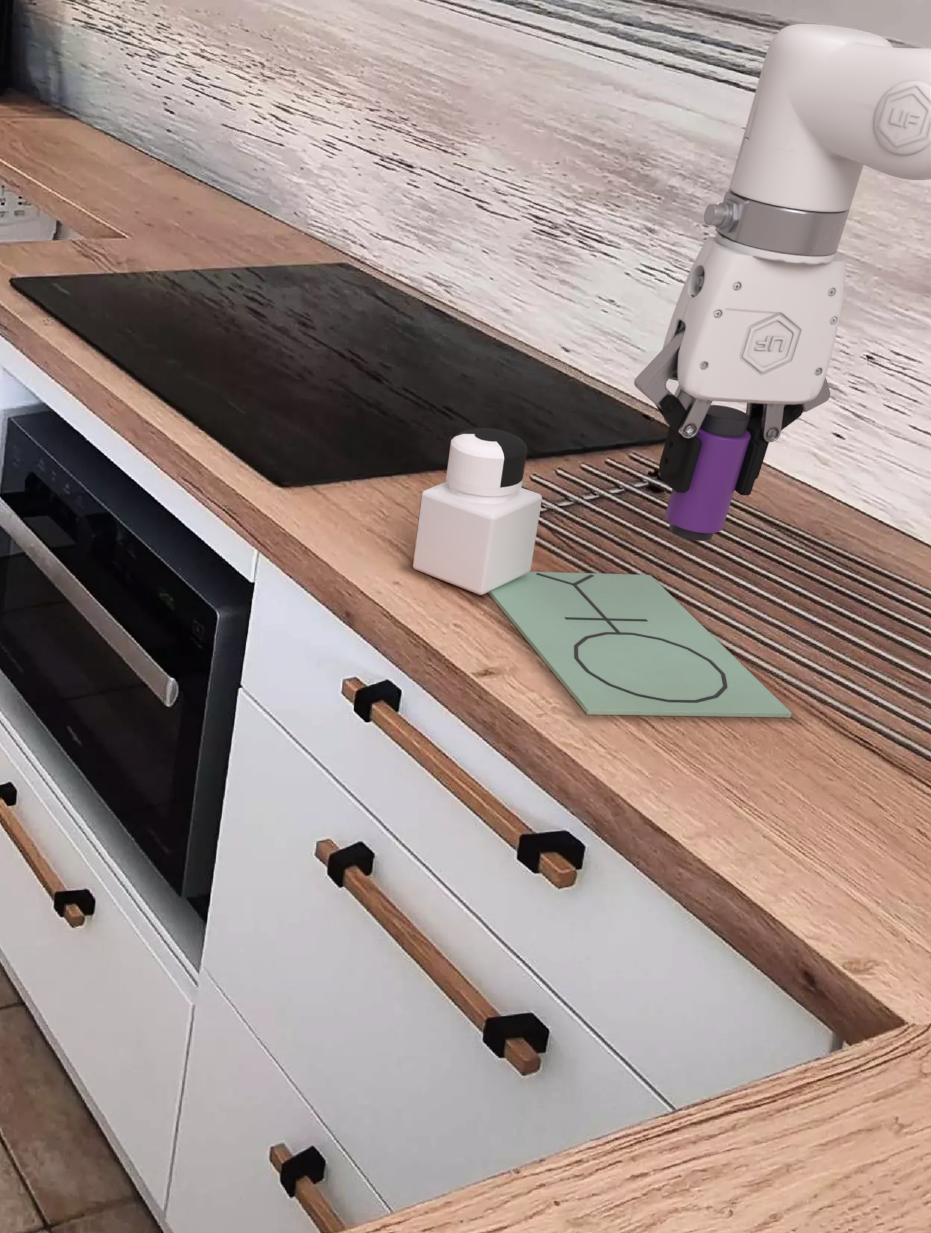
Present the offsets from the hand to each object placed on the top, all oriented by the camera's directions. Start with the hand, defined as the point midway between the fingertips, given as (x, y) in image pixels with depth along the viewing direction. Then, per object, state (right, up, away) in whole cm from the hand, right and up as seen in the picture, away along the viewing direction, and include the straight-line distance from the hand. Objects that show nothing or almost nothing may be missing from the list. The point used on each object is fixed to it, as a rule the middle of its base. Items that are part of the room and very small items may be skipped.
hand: (704, 484), depth 123 cm
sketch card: (-1, -11, +15) cm, 19 cm away
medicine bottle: (-10, -5, +24) cm, 27 cm away
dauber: (0, -3, +2) cm, 4 cm away
